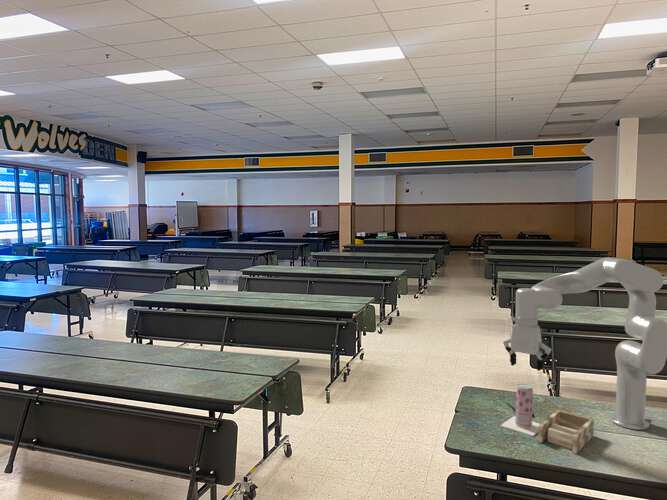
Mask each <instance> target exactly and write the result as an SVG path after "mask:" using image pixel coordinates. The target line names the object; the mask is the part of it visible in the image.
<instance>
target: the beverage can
mask: <svg viewBox="0 0 667 500" xmlns="http://www.w3.org/2000/svg"><path fill="white" fill-rule="evenodd" d="M515 394H516V395H515V408H516V412H515V413H516V414H515V416H516V419H515V423H516V425H517V426H519V427H521V428H530V427H531V426H532V421H533V417H532V414H533V397H534V396H533V394H534V390H533V386H532V385H531V384H527V383H518V384H517V385H516V393H515Z"/></svg>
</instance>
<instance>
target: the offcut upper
mask: <svg viewBox="0 0 667 500" xmlns="http://www.w3.org/2000/svg"><path fill="white" fill-rule="evenodd" d="M577 431H578V430H574V429H571V428H567V427H564V426H560V425H557V424H553V425H552V426H551V427H549V428H548V436H550V437H553V438H556V439H560V440H563V441H566V442H570V443H573V435H574V434H575V433H576V432H577Z"/></svg>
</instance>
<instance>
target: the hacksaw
mask: <svg viewBox="0 0 667 500" xmlns="http://www.w3.org/2000/svg"><path fill="white" fill-rule="evenodd" d="M506 405H507V406H509V408H511V410H512V413H513V414H515V415H516V407H514V406H513V405H512V404H511V403H509V402H508V403H507V404H506ZM533 417H534V418H535V417H536V416H535V414H534V413H532V418H533Z"/></svg>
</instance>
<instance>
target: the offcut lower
mask: <svg viewBox="0 0 667 500" xmlns="http://www.w3.org/2000/svg"><path fill="white" fill-rule="evenodd" d="M547 442H548V443H552V444H553V445H557V446H561V447H563V448H567V449H570V450H572V448H573V443H570V442H566V441H563V440H560V439H556V438H553V437H550V436H548V438H547Z"/></svg>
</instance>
